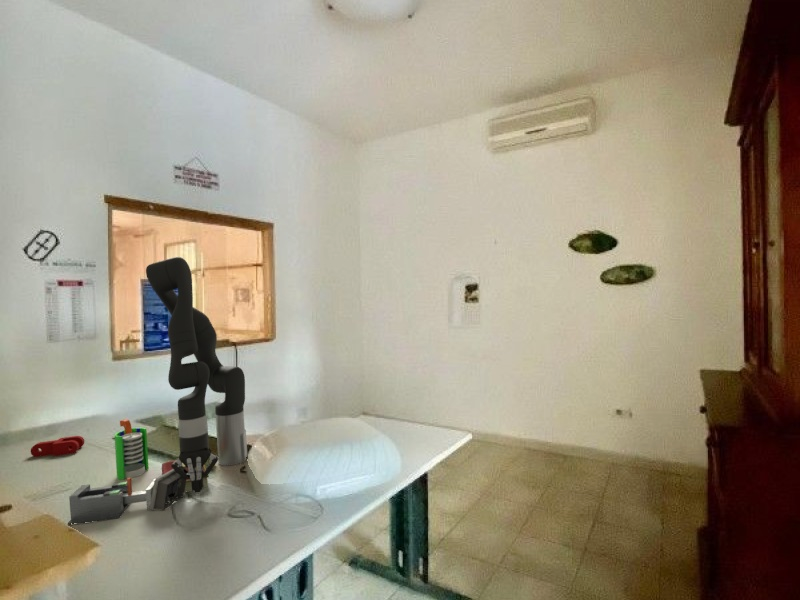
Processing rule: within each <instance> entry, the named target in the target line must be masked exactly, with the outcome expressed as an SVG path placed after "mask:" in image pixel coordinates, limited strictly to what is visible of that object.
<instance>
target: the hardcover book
mask: <svg viewBox="0 0 800 600" xmlns="http://www.w3.org/2000/svg"><path fill="white" fill-rule="evenodd" d="M176 460H177V459H173V460H169V461H165V462H162V463H161V471H162V472H161V473H162V475H163V474H165V473H167V472H169V471H170V470H172V469H173V468H172V467H171V465H172V464H173V462H174V461H176ZM182 466H183V467H184V468H185V469H186V470H187V471H188V472H189V470H188V468H187V467H186V466H185V465H184V464H183V463H182ZM196 469H197V468H196ZM206 469H207V467H206V465H205V464H204V466H203V471H205V470H206ZM196 472H197V471H196ZM208 478H210V477H209V474H208V476H206V477H203V485H204V486H203V489H204V488H208V487H209V483H208V482H209V481H208ZM181 481H182V480H181ZM181 484H182V483H181ZM181 484H180V485H181ZM186 491H190V492H193V491H192V484H191V480H190V479H186V485H185V491H184V494H186V493H187V492H186Z"/></svg>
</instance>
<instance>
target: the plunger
mask: <svg viewBox="0 0 800 600" xmlns="http://www.w3.org/2000/svg"><path fill="white" fill-rule="evenodd" d="M155 479H156V478H153V480H152V481H151V482H150V484H149V485H148V486H147V488H146V489H144V490H138V491H133V488H132V487H133V484H132V477H131V478H126V482H127V489H128V493H123V504H130V503H131V504H136V503H142V502H146V510H147V511H148V510H151V509H150V506H151V499H152V493H153V486H154V481H155ZM131 504H130V505H131Z"/></svg>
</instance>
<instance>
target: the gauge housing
mask: <svg viewBox="0 0 800 600" xmlns="http://www.w3.org/2000/svg"><path fill="white" fill-rule="evenodd" d="M123 493H128V489H127V481H123V482H122V481H121V482H114V483H113V484H112V485H108V486H100V487H93V488H92V487H91V484H84V485H83V484H82V485H81V486H80V487H78V488H77V489H76V490H75V491H74V492H73V493H72V494H71V495H69V496H68V498H69V499H68V500H69V511H70V513H69V515H70V520H69V521H68V522H67V526H68V525H69V527H70V526H72V525H71V523H72V524H74V523H83V524H86V523H85V522H90V523H93V522H92V521H97V522H102V521H109V520H110V521H111V520H117V519H120V518H121V517H122V515H124V513H125V512H126V511H127V509H128V508H129V506H130V505H131V504H132V503H130V504H123ZM124 511H125V512H124ZM120 516H121V517H120Z"/></svg>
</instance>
